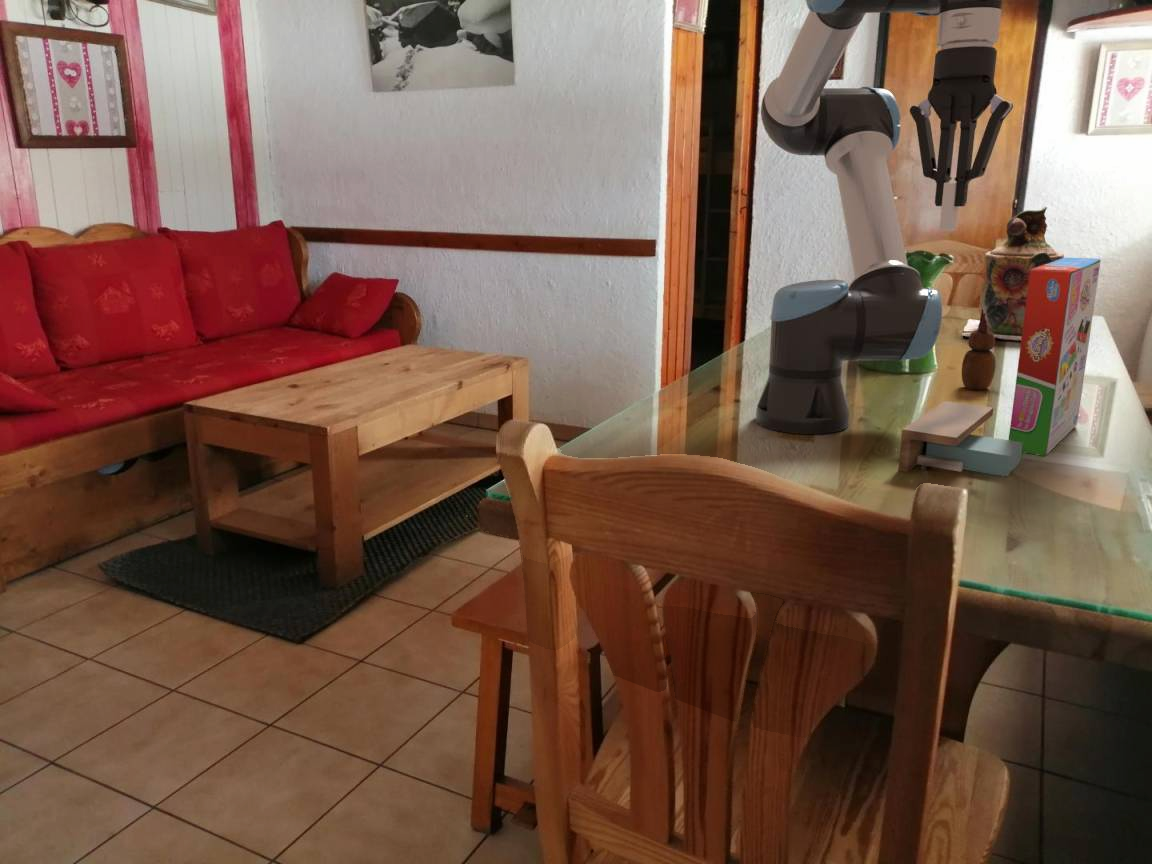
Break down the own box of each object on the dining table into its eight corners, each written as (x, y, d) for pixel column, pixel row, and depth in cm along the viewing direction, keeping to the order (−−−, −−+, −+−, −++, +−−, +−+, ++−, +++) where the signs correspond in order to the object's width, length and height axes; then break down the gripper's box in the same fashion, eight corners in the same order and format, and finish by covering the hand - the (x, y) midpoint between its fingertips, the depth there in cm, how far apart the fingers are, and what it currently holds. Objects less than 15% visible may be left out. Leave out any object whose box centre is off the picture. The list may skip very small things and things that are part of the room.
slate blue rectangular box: (924, 462, 130) (927, 442, 129) (941, 449, 136) (943, 430, 136) (1006, 476, 124) (1009, 455, 123) (1020, 462, 130) (1022, 442, 129)
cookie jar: (966, 324, 248) (979, 204, 239) (1067, 330, 237) (1085, 205, 228) (959, 339, 226) (974, 208, 218) (1070, 346, 216) (1090, 208, 207)
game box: (1041, 421, 151) (1063, 256, 144) (1077, 427, 148) (1102, 258, 140) (1006, 450, 136) (1029, 267, 128) (1045, 457, 132) (1072, 269, 125)
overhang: (898, 470, 127) (902, 429, 125) (940, 437, 142) (944, 400, 141) (951, 480, 123) (956, 437, 121) (988, 445, 138) (993, 407, 136)
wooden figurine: (962, 383, 179) (971, 307, 175) (994, 386, 176) (1003, 309, 172) (957, 390, 173) (965, 312, 169) (989, 393, 170) (999, 314, 166)
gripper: (907, 49, 120) (891, 231, 126) (1013, 40, 112) (990, 234, 119) (924, 54, 125) (908, 228, 132) (1026, 46, 118) (1004, 231, 124)
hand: (947, 231), depth 125 cm, fingers closed
